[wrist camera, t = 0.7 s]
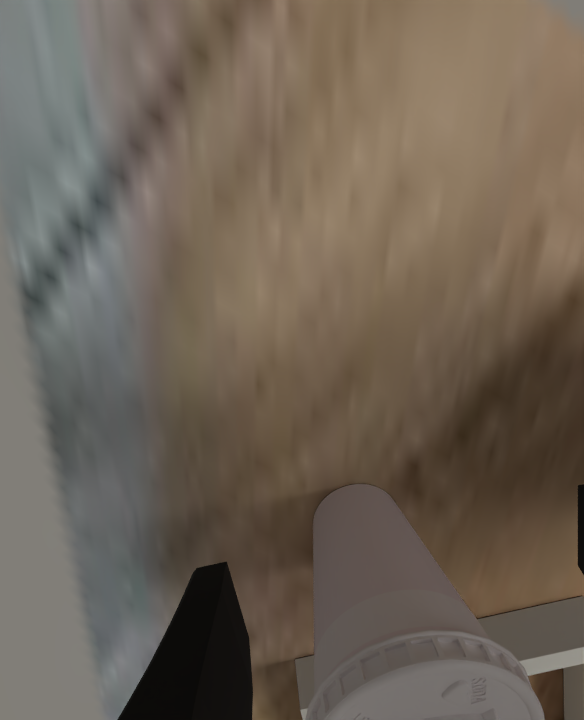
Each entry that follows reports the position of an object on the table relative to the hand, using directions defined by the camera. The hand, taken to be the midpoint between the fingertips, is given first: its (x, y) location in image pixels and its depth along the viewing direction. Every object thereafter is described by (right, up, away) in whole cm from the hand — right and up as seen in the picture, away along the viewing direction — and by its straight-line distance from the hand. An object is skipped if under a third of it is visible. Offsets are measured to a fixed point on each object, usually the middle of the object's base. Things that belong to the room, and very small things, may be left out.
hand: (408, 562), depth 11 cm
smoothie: (0, -3, +12) cm, 13 cm away
